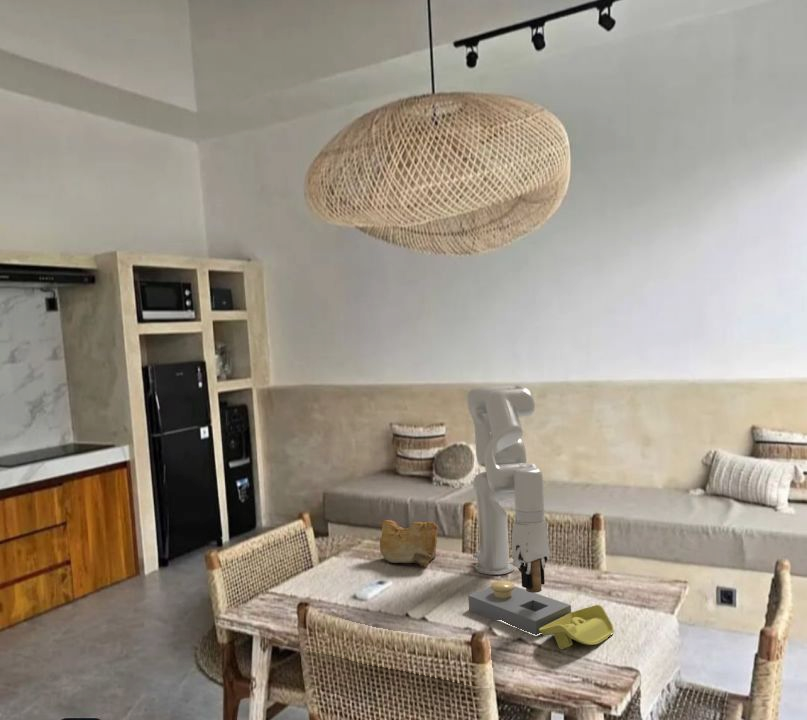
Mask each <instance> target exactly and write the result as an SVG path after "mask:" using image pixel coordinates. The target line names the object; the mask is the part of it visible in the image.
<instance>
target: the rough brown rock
mask: <svg viewBox="0 0 807 720" xmlns="http://www.w3.org/2000/svg"><path fill="white" fill-rule="evenodd" d="M381 524H382V525H381V536H380V538H379V548H380V549H379V551H380V554H381V555H382V556H383V558H384V559H385V560H386V561H387V562H389V563H393V564H398V563H399V564H411V563H415V564H417V565H418V566H421V567H423V566H424V567H423V568H426V567H428V566H429V563H430V561H432V559H435V558H436V557H437V554H436V551H437V543H438V541H437V537H438V533H439V528H438V525H437V524H436V523H435V522H431V521H426V522H423V521H416V522H413V523H411V525H410V526H409V527H407V528H404V527H402V526H400V525H399V524H398V523H397V522H396V521H394V520H391V519H387V520H385V519H384V520H383V521H382V523H381Z"/></svg>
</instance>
